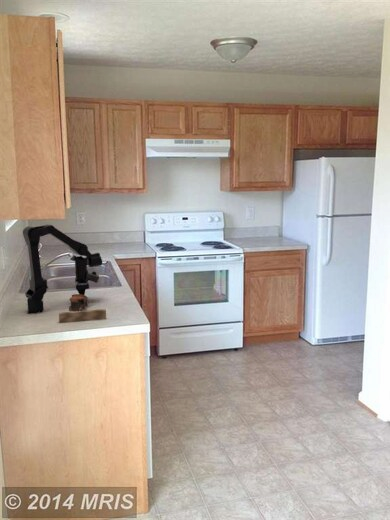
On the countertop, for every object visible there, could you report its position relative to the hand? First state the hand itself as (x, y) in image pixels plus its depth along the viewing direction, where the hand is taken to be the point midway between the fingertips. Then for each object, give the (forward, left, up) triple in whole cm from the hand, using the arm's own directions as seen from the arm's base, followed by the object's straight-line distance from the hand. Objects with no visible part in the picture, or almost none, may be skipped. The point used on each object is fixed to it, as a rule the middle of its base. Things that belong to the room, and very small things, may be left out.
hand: (82, 299), depth 235 cm
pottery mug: (-2, -11, -2) cm, 11 cm away
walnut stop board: (-1, -29, -2) cm, 29 cm away
